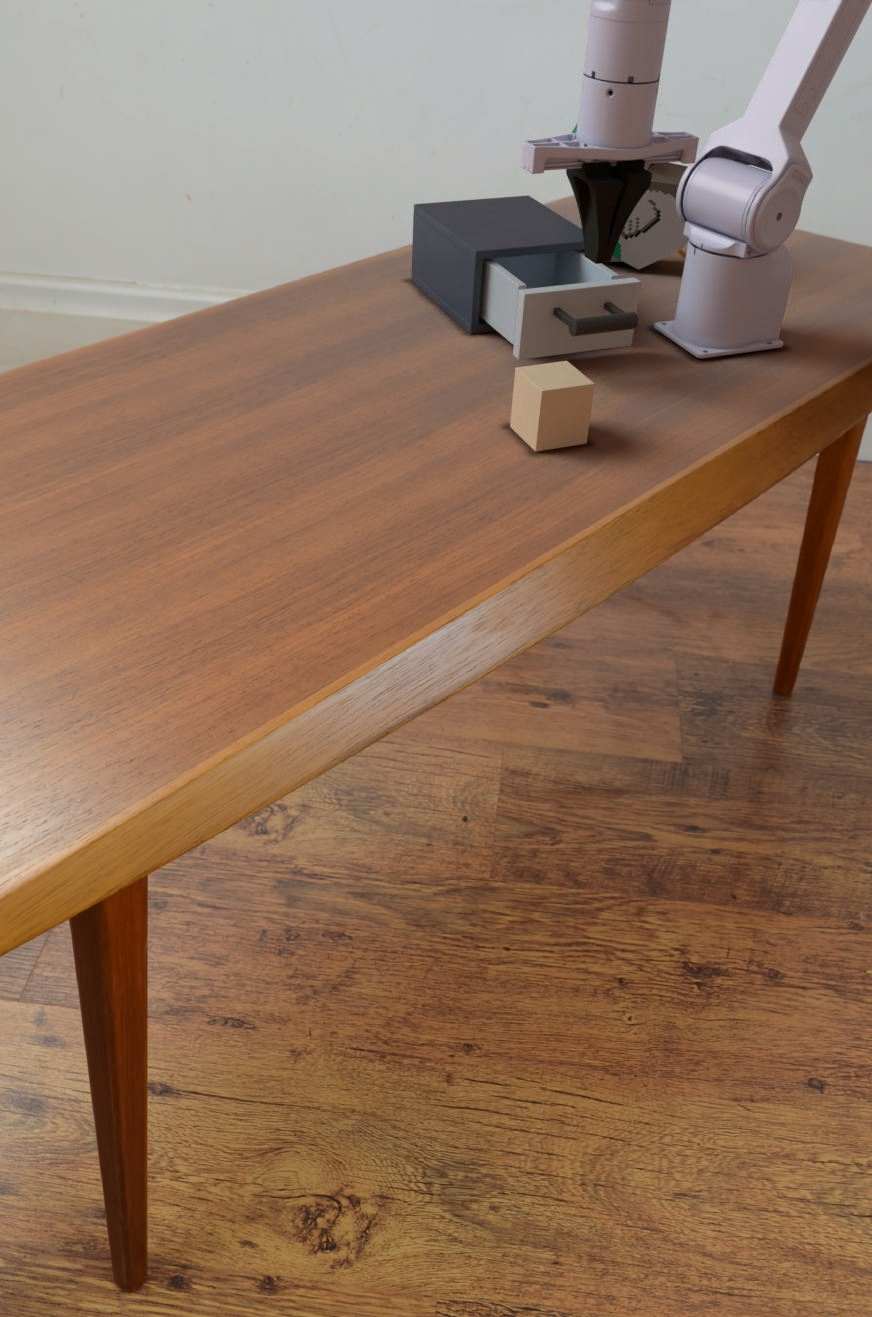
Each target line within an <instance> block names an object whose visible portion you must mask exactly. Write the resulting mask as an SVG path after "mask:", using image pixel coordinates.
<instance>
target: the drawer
mask: <svg viewBox="0 0 872 1317" xmlns="http://www.w3.org/2000/svg"><path fill="white" fill-rule="evenodd" d="M641 286H642V281H641V280H640V279H638V278H636V277H626V278H620V275H619V273H617V272H615V271H614V270H612V269H610V268H609V267H607V265H605V264H604V263H600V264H596V263H594V262H592V261H591V260H589V259H588V258H586V257H585V255H584V252H583V251H582V250H575V251H565V252H554V253H544V254H534V255H523V256H513V257H502V258H492V259H483V270H482V284H481V298H480V313H479V316H480V317H481V318H482V319H484V320H485V321H486V322H487V323H488V324H489V325H491V326H492V327H493V328H494V329H495V330H496V331H495V332H497V333H499V334H500V335H501V336H502V337H503V338H505V339H506V340H507V341H508V342H509V343H511V345H513V347H512V356H513V357H515V359H517V360H518V361H520V360H521V361H523V360H529V359H536V358H544V357H545V358H546V357H551V356H559V355H568V354H576V353H583V352H589V351H598V350H606V349H614V348H620V347H630V346H632V344H633V337H634V330H635V329H637V328H638V326H639V316H638V314H637V313H638V312H637V311H638V306H639V305H638V304H639V299H640V292H641Z"/></svg>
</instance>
